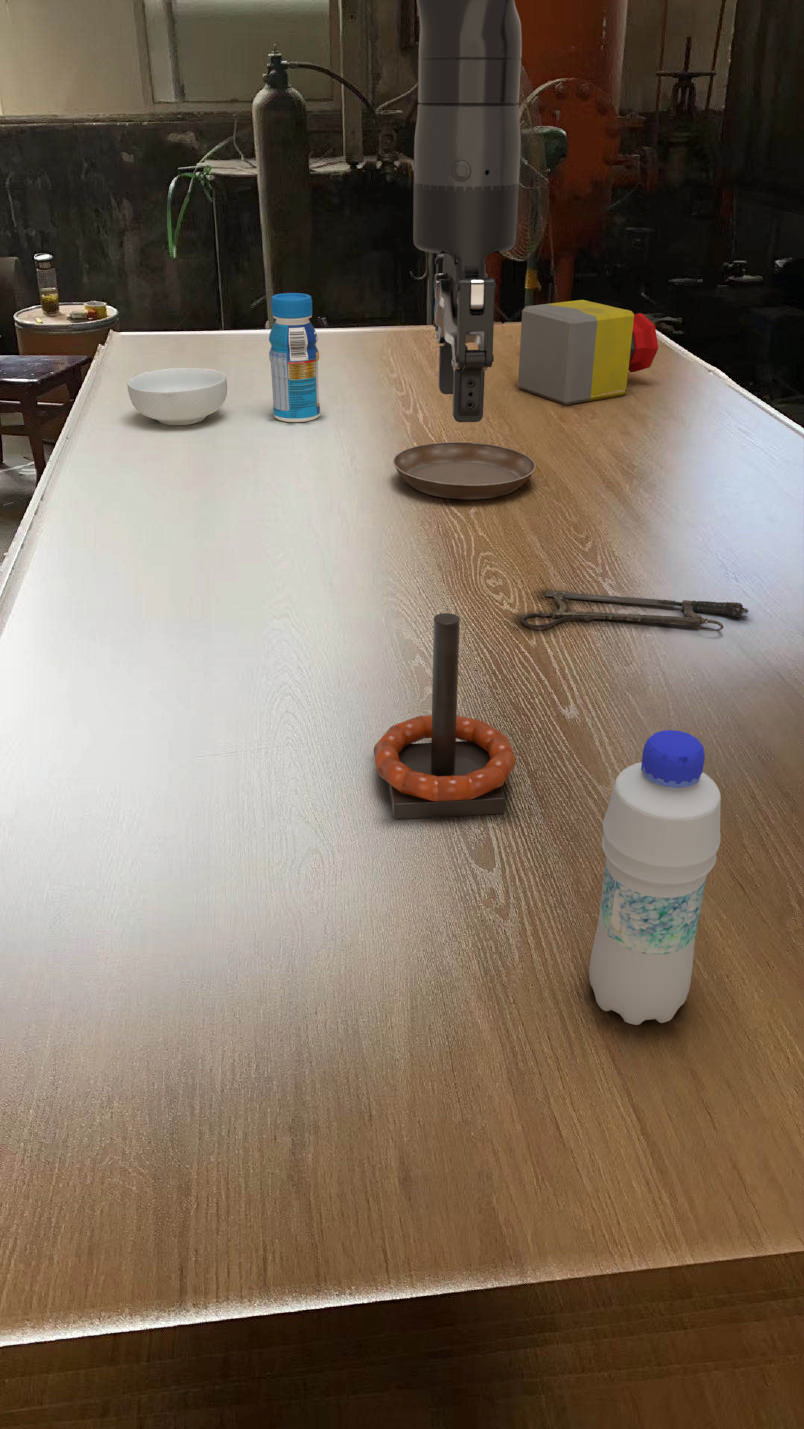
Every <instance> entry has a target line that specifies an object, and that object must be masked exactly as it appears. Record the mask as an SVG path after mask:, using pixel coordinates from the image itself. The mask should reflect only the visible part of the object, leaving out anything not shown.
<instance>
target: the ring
mask: <svg viewBox="0 0 804 1429" xmlns="http://www.w3.org/2000/svg"><path fill="white" fill-rule="evenodd" d="M431 735H432V714H431V715H430V714H429V715H428V714H427V715H418V716H415V717H413V718H410V719H407V720H405V721H402V722H399V723H397V724H394V725H391V727H390V728H388V730H387V731H386V732H385V733H384V734H383V735H382V736H381V737H380V738H379V740H378V741H377V742H376V743H375V744H374V747H373V756H374V762H375V763H374V764H375V768H376V772H377V774H378V776H379V777H380V778H382V779H383V780H384V781H385V782H387V783H388V785H389V784H391V785H392V786H393V787H394V788H396V789H397V790H398V791H399V792H401V793H403V794H407V795H411V796H415V797H419V798H423V799H427V800H430V801H435V802H439V801H456V800H471V799H474V798H476V797H479V796H481V795H483V794H486V793H488V792H490V791H493V790H495V789H497V788H499V787H501V786H502V787H503V785H504V784H505V782H506V781H507V779H508V777H509V776H510V775H511V773H512V771H513V770H514V768H515V766H516V762H517V758H516V756H515V753H514V751H513V748H512V744H511V742H510V739H509V738H508V736H506V734H504V733H503V732H501V731H500V730H498V729H496V728H495V727H493V726H492V725H490V724H489V723H487V722H486V721H484V720H480V719H476V718H472V717H468V716H463V715H458V714H457V718H456V740H460V741H469V742H473V743H475V744H477V745H478V746H480V747H481V748H483V749H484V750H486V751H487V752H488V753H489V756H490V760H489V762H488V763H487V765H486V766H485V767H483V768H481V769H478V770H476V771H474V772H471V773H469V774H466V775H454V776H434V775H430V774H426V773H422V772H418V771H414V770H411V769H410V768H409V767H407V766H406V765H405V764H404V763H402V762H401V761H400V760H399V755H398V754H399V753H400V751H401V750H402V749H403V748H404V747H405V746H406V745H409V744H414V743H416V742H417V743H418V742H419V741H422V740H424V739H431Z"/></svg>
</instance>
